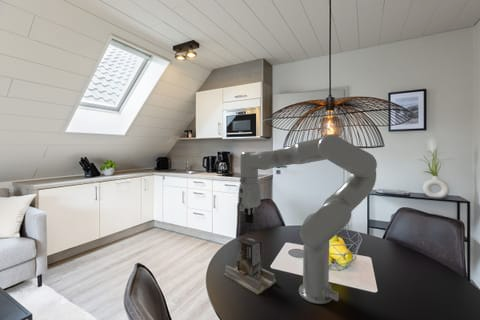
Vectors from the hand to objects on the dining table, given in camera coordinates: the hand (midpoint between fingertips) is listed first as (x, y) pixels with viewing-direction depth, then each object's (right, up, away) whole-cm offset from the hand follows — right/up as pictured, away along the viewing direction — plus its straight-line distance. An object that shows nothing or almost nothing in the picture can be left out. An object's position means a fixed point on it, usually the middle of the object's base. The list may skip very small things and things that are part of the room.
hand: (249, 222), depth 103 cm
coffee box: (0, -24, +1) cm, 24 cm away
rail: (0, -25, +1) cm, 25 cm away
